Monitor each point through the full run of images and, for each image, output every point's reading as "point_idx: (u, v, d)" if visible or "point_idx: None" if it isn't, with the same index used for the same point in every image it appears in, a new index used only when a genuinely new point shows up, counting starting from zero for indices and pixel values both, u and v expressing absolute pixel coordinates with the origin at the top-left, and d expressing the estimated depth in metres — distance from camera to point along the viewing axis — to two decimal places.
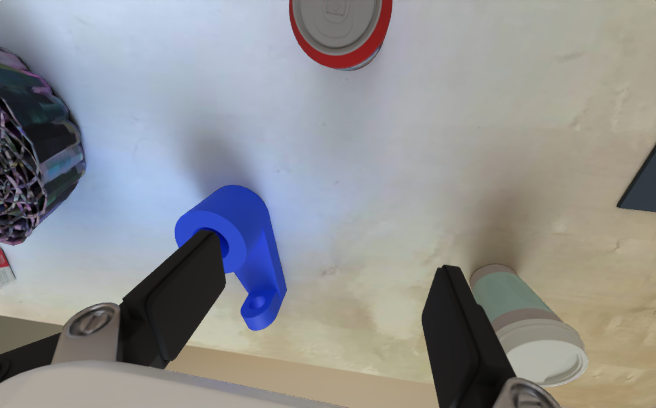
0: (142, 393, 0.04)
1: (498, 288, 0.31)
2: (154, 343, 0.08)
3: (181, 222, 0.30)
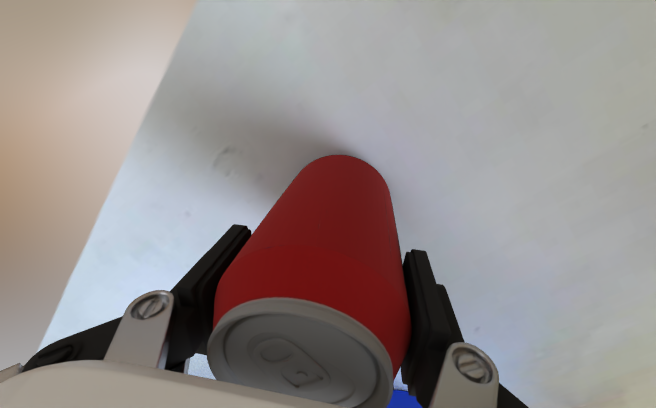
0: (142, 393, 0.04)
1: None
2: (200, 329, 0.09)
3: None
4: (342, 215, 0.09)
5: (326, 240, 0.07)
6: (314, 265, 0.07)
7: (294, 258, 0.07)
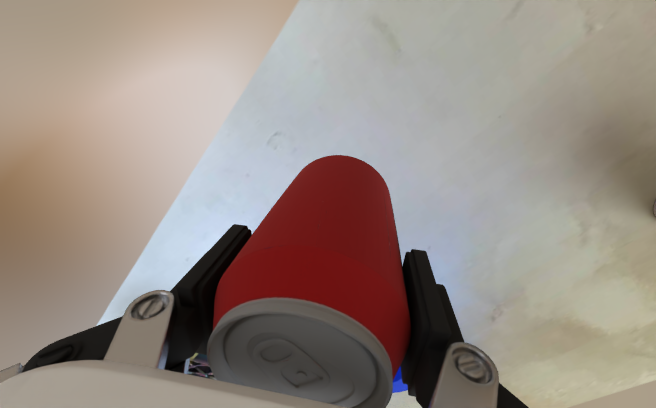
0: (142, 393, 0.04)
1: None
2: (200, 329, 0.09)
3: None
4: (342, 216, 0.09)
5: (326, 241, 0.07)
6: (314, 266, 0.07)
7: (294, 259, 0.07)
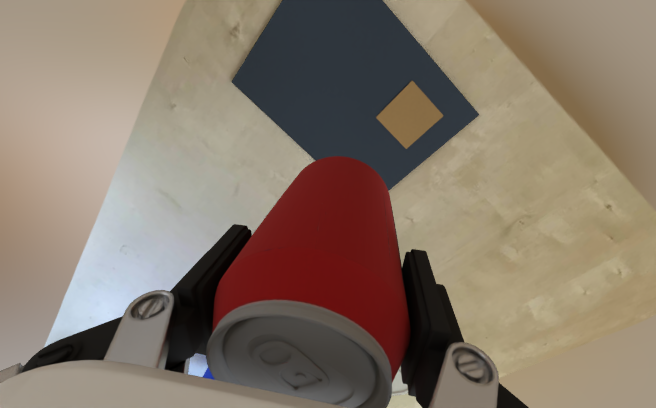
0: (142, 393, 0.04)
1: None
2: (200, 329, 0.09)
3: None
4: (341, 218, 0.09)
5: (325, 243, 0.07)
6: (313, 268, 0.07)
7: (293, 261, 0.07)
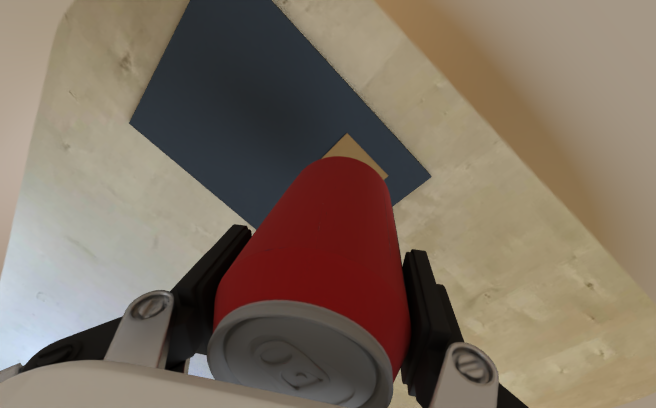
0: (142, 393, 0.04)
1: None
2: (200, 329, 0.09)
3: None
4: (342, 218, 0.09)
5: (326, 242, 0.07)
6: (314, 268, 0.07)
7: (294, 261, 0.07)
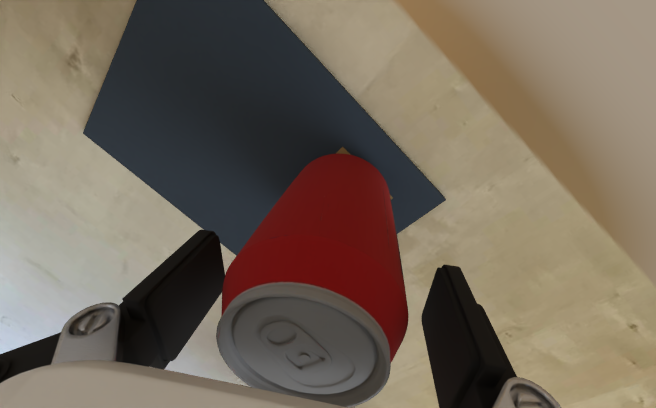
0: (142, 393, 0.04)
1: None
2: (154, 344, 0.08)
3: None
4: (343, 209, 0.09)
5: (328, 231, 0.08)
6: (317, 253, 0.07)
7: (298, 247, 0.07)
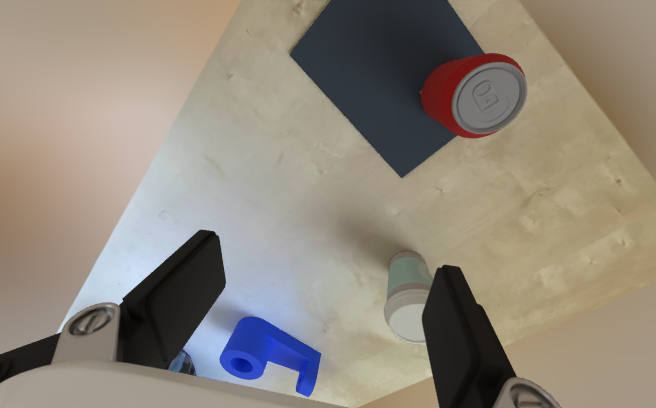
0: (142, 393, 0.04)
1: (388, 280, 0.40)
2: (154, 343, 0.08)
3: (222, 363, 0.51)
4: None
5: (498, 54, 0.21)
6: (499, 56, 0.20)
7: (491, 55, 0.20)
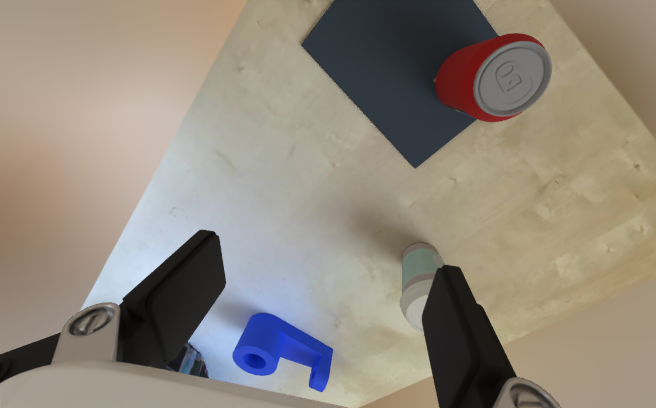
0: (142, 393, 0.04)
1: (402, 272, 0.39)
2: (154, 343, 0.08)
3: (235, 360, 0.51)
4: None
5: None
6: (522, 36, 0.20)
7: (514, 35, 0.20)
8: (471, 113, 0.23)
